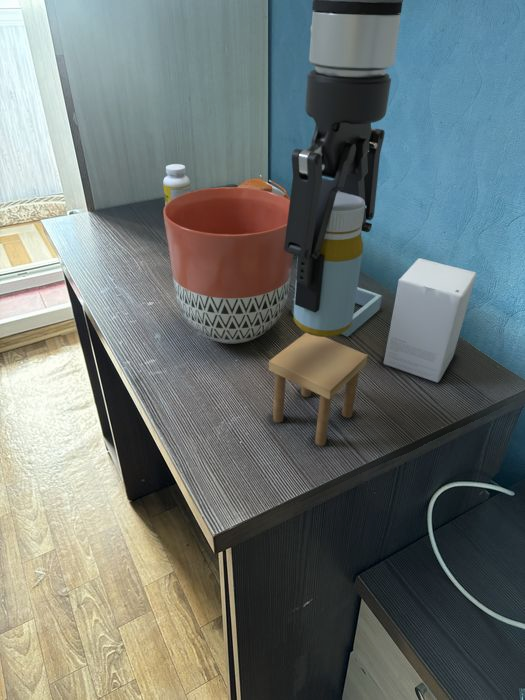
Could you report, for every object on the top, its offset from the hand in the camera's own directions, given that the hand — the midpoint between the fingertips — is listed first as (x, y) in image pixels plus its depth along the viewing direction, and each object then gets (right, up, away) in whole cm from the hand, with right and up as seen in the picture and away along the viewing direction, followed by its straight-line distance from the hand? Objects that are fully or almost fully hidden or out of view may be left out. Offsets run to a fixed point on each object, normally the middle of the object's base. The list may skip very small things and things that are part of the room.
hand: (325, 293), depth 60 cm
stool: (0, -16, +11) cm, 19 cm away
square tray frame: (+6, 0, +34) cm, 34 cm away
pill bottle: (-28, +28, +72) cm, 82 cm away
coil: (-9, +16, +56) cm, 58 cm away
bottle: (0, -3, +2) cm, 4 cm away
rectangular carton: (+18, -8, +23) cm, 30 cm away
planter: (-12, -4, +28) cm, 31 cm away
